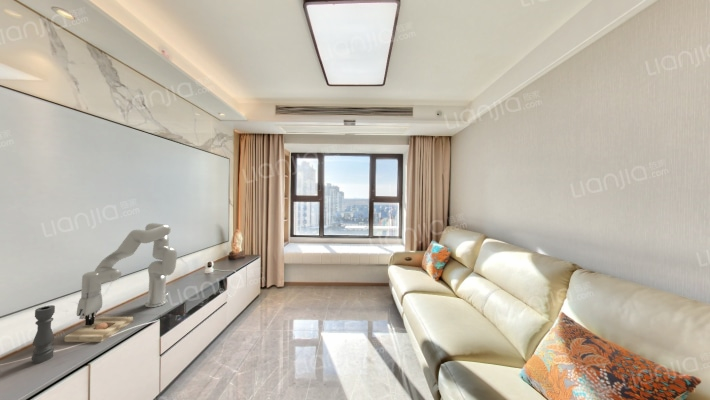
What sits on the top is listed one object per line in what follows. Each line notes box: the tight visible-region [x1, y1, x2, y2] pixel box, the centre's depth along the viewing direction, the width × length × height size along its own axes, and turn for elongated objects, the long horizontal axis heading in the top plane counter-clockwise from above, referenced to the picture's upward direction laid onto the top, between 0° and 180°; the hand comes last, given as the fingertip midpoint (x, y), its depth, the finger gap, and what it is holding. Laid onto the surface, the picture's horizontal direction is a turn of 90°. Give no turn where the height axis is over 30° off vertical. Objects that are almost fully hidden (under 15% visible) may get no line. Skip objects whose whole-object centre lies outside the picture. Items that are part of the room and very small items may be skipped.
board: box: [64, 316, 134, 343], centre depth 134 cm, size 20×18×3 cm
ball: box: [95, 323, 108, 329], centre depth 133 cm, size 5×5×5 cm
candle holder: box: [31, 305, 56, 365], centre depth 110 cm, size 6×6×25 cm
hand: (89, 324), depth 133 cm, fingers closed
